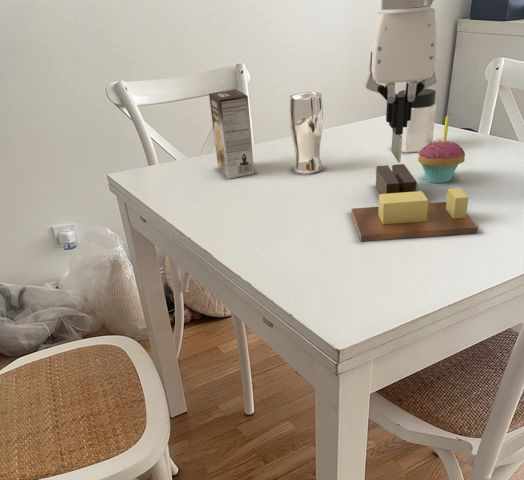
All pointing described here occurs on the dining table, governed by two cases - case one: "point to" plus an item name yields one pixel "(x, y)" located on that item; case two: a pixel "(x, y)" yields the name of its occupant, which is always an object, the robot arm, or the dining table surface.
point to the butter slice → (456, 203)
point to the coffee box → (232, 133)
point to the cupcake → (441, 158)
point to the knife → (398, 127)
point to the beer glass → (306, 130)
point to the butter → (403, 207)
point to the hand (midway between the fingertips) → (397, 125)
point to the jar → (420, 122)
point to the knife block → (394, 179)
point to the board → (411, 224)
